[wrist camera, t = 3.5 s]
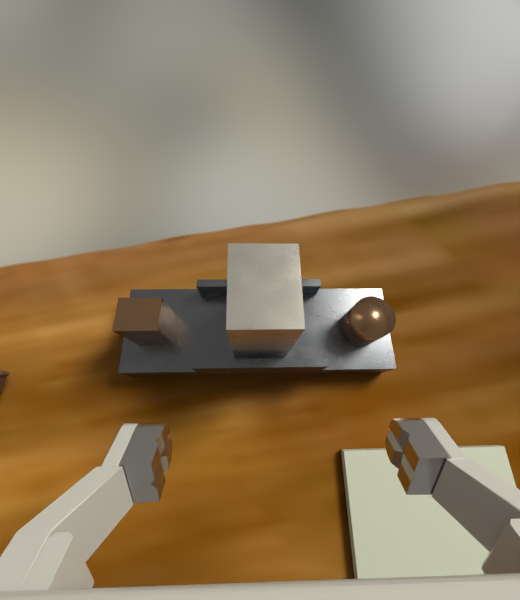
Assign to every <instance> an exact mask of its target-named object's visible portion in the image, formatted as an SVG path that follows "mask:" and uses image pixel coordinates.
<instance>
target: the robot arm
mask: <svg viewBox="0 0 520 600" xmlns="http://www.w3.org/2000/svg"><path fill="white" fill-rule="evenodd" d="M389 427H390V429H391V432H390V433H389V434H388V435H387V436H386V441H385V444H386V451H387V455H388V457H389V460H390V462H391V463H392V464H393V465H394V466H395V467H396V468H398V473H397V476H398V478H399V480H400V482H401V485H402V487H403V489H404V491H405V493H406V495H432V497H433V498H434V499H435V500H436V501H437V502H438V503H439V504H440V505H441V506H442V507H443V508H444V509H445V510H446V511H447V512H448V513H449V514H450V515H451V516H452V517H453V518H454V519H456V520H457V521H458V522H459V523H460V524H461V525H462V526H463V527H464V528H465V529H466V530H467V531H468V532H469V533H470V534H471V535H472V536H473V537H474V538H475V539H476V540H477V541H478V542H479V543H480V544H482V545H483V546H484V547H485V548H486V549H487V550H488V551H489V554H488V556H487V557H486V559H485V560H484V562H483V564H482V568H481V569H482V570H483V572H484V574H478V575H450V576H421V577H393V578H364V579H336V580H308V581H279V582H251V583H223V584H195V585H167V586H139V587H112V588H92V587H93V584H94V580H93V577H92V575H91V573H90V571H89V569H88V567H87V565H86V563H85V562H86V561H87V560H88V559H89V557H90V556H91V555H92V554H93V553H94V551H95V550H96V549H97V548H98V547H99V545H100V544H101V543H102V542H103V541H104V539H105V538H106V537H107V536H108V535H109V533H110V532H111V531H112V530H113V529H114V527H115V526H116V525H117V524H118V523H119V521H120V520H121V519H122V518H123V517H124V515H125V514H126V513H127V512H128V511H129V509H130V508H131V507H132V506H133V503H140V502H157V501H160V498H161V494H162V491H163V487H164V484H165V477H164V473H165V472H166V471H167V470H168V469H169V465H170V462H171V455H172V441H171V439H170V438H169V437H168V434H169V431H170V430H169V425H168V424H160V423H125V424H124V425H123V426H122V427H121V428H120V430H119V432H118V434H117V436H116V438H115V440H114V442H113V444H112V446H111V448H110V449H109V451H108V453H107V455H106V457H105V459H104V461H103V463H102V465H101V467H95V468H94V469H93V470H92V471H91V472H89V473H88V474H87V475H86V476H84V477H83V478H82V479H81V480H80V481H78V482H77V483H76V484H75V485H73V486H72V487H71V488H70V489H69V490H67V491H66V492H65V493H64V494H62V495H61V496H60V497H59V498H58V499H56V500H55V501H54V502H53V503H51V504H50V505H49V506H48V507H47V508H45V509H44V510H43V511H42V512H40V513H39V514H38V515H37V516H36V517H34V518H33V519H32V520H31V521H29V522H28V523H27V524H26V525H25V526H23V527H22V528H21V529H20V530H18V531H17V532H16V534H15V536H14V537H13V539H12V540H11V542H10V543H9V545H8V546H7V548H6V549H5V551H4V552H3V554H2V555H1V557H0V600H520V490H519V489H517V488H516V487H514V486H513V485H511V484H510V483H508V482H507V481H505V480H503V479H502V478H500V477H499V476H497V475H496V474H494V473H493V472H491V471H490V470H488V469H487V468H485V467H484V466H482V465H481V464H479V463H477V462H476V461H474V460H473V459H471V458H466V457H465V455H464V454H463V453H462V451H461V450H460V449H459V448H458V446H457V445H456V444H455V442H454V441H453V440H452V438H451V437H450V436H449V434H448V433H447V432H446V430H445V429H444V428H443V427H442V425H441V424H440V423H439V421H438V420H437V419H435V418H420V419H419V418H406V419H392V420H391V422H390V425H389Z"/></svg>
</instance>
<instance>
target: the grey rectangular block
mask: <svg viewBox="0 0 520 600" xmlns="http://www.w3.org/2000/svg"><path fill="white" fill-rule="evenodd" d="M304 330H305V320H304V307H303V294H302V281H301V269H300V256H299V244H228V270H227V311H226V331H227V335H228V338H229V341H230V344H231V348H232V351H233V354H234V358H285V356H286V355H287V354H288V352H289V351H290V349H291V348H292V347H293V345H294V344H295V342H296V341H297V340H298V338H299V337H300V336H301V334H302V333H303V331H304Z"/></svg>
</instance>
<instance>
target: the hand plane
mask: <svg viewBox="0 0 520 600" xmlns="http://www.w3.org/2000/svg"><path fill="white" fill-rule="evenodd" d="M301 281H302V294H303V307H304V320H305V330H304V331H303V333H302V334H301V336H300V337H299V338H298V340H297V341H296V342H295V344H294V345H293V347H292V348H291V349H290V351H289V352H288V354H287V355H286V356H285V358H234V354H233V351H232V348H231V344H230V341H229V338H228V335H227V331H226V311H227V280H197V289H163V290H131V293H130V298H118V303H117V309H116V315H115V321H114V327H113V331H114V332H115V333H117V334H119V335H121V336H123V337H124V338H123V345H122V351H121V358H120V364H119V371H118V373H120V374H124V375H128V376H175V375H238V374H301V373H364V372H385V371H389V370H393V369H396V364H395V359H394V354H393V348H392V343H391V337H390V332H391V331H392V330H393V328H394V326H395V322H396V318H395V313H394V311H393V309H392V308H391V306H390V305H389V304H388V303H387V302H386V301H384V300H383V294H382V289H319V288H320V287H321V282H320V279H301Z"/></svg>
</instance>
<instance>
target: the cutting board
mask: <svg viewBox="0 0 520 600" xmlns="http://www.w3.org/2000/svg"><path fill="white" fill-rule="evenodd" d="M458 448H459V449H460V450H461V451H462V453H463V454H464V455H465V457H466V458H471V459H473V460H474V461H476V462H477V463H479V464H481V465H482V466H484V467H485V468H487V469H488V470H490V471H491V472H493V473H494V474H496V475H497V476H499V477H500V478H502V479H503V480H505V481H507V482H508V483H510V484H511V485H513V486H514V487H516V485H515V481H514V478H513V474H512V471H511V468H510V464H509V461H508V457H507V454H506V450H505V447H504V446H499V445H482V446H458ZM341 457H342V466H343V476H344V485H345V494H346V504H347V513H348V522H349V532H350V541H351V550H352V560H353V569H354V578H355V579H364V578H393V577H421V576H450V575H478V574H484V572H483V570H482V569H481V568H482V564H483V562H484V560H485V559H486V557H487V556H488V554H489V551H488V550H487V549H486V548H485V547H484V546H483V545H482V544H480V543H479V542H478V541H477V540H476V539H475V538H474V537H473V536H472V535H471V534H470V533H469V532H468V531H467V530H466V529H465V528H464V527H463V526H462V525H461V524H460V523H459V522H458V521H457V520H456V519H454V518H453V517H452V516H451V515H450V514H449V513H448V512H447V511H446V510H445V509H444V508H443V507H442V506H441V505H440V504H439V503H438V502H437V501H436V500H435V499H434V498H433V497H432V495H406V493H405V491H404V489H403V487H402V485H401V482H400V480H399V478H398V476H397V473H398V468H396V467H395V466H394V465H393V464H392V463H391V462H390V460H389V457H388V455H387V451H386V448H370V449H341Z"/></svg>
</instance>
